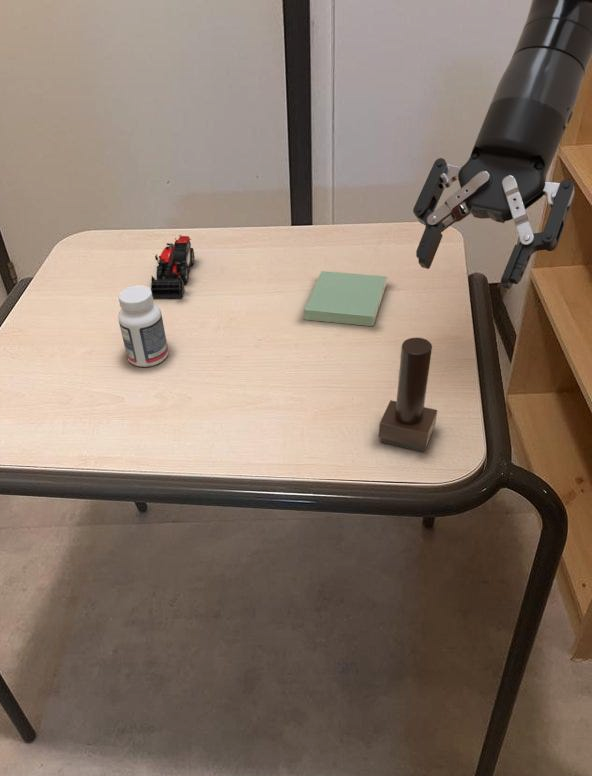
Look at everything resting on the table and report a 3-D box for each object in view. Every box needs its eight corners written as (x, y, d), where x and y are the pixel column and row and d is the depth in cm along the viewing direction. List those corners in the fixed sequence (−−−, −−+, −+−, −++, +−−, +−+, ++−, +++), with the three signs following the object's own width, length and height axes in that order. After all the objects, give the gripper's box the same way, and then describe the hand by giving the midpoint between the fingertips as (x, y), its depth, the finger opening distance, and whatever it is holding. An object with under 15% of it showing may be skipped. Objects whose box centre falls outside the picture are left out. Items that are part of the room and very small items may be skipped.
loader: (182, 299, 100) (178, 268, 97) (150, 299, 101) (145, 268, 98) (197, 256, 109) (193, 226, 105) (168, 256, 109) (163, 227, 106)
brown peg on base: (434, 429, 77) (448, 338, 69) (424, 454, 75) (438, 362, 66) (388, 419, 79) (396, 329, 71) (377, 443, 76) (385, 352, 68)
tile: (386, 286, 98) (386, 276, 97) (373, 326, 92) (373, 316, 91) (321, 280, 101) (321, 270, 100) (304, 319, 94) (303, 309, 93)
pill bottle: (173, 344, 93) (162, 282, 86) (162, 368, 89) (151, 306, 83) (133, 342, 94) (120, 281, 87) (122, 366, 90) (107, 305, 84)
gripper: (450, 86, 70) (387, 247, 72) (604, 103, 63) (530, 280, 65) (465, 124, 76) (407, 271, 78) (605, 144, 70) (538, 304, 72)
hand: (463, 275), depth 72 cm, fingers open, 8 cm apart
